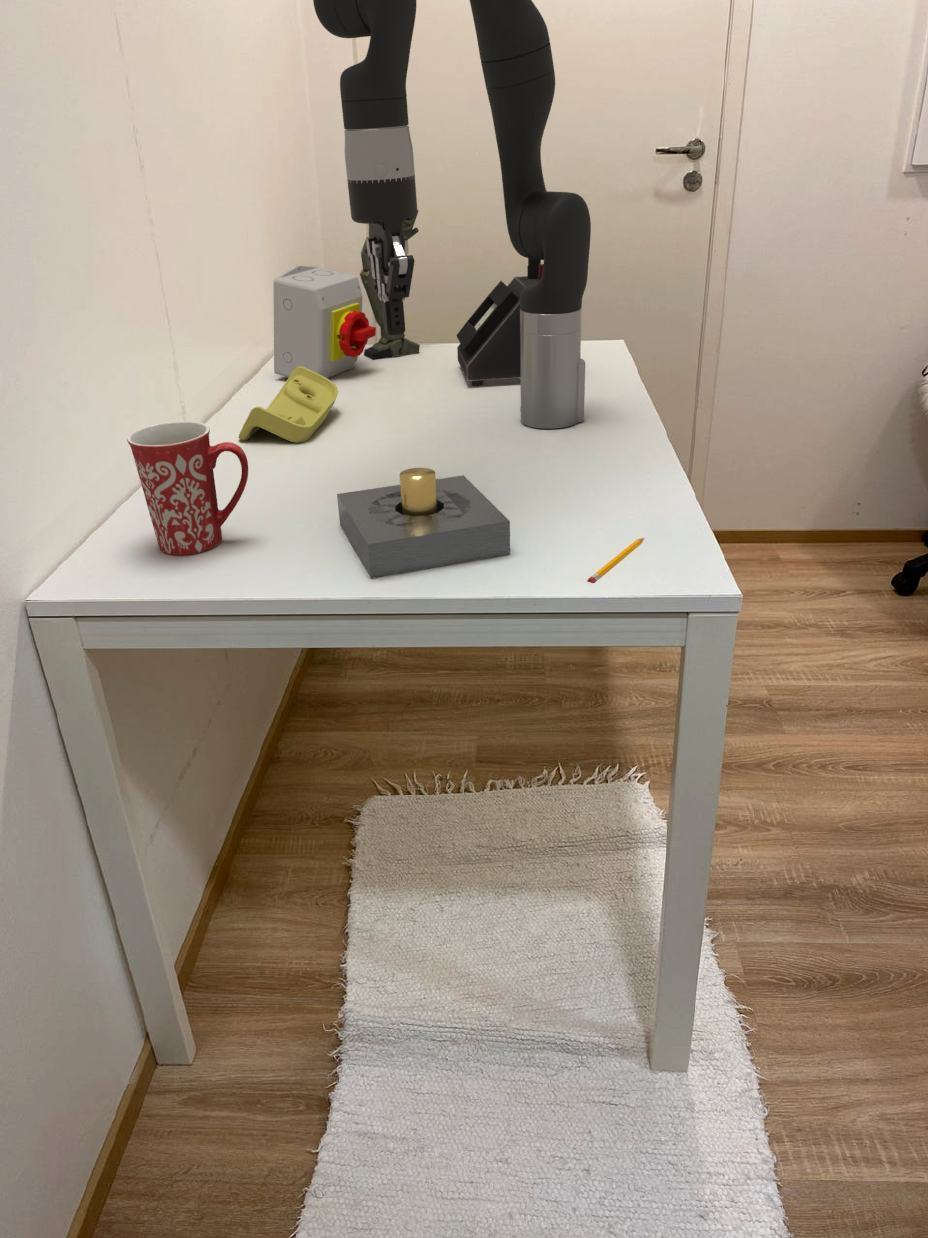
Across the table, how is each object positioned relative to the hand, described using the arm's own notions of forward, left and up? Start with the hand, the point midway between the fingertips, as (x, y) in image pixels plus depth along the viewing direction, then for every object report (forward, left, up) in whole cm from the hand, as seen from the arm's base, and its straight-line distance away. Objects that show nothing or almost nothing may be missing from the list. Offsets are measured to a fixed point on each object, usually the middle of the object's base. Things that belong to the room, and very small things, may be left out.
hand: (395, 332), depth 112 cm
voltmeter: (-34, -53, -21) cm, 67 cm away
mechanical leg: (-20, -80, -21) cm, 85 cm away
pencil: (-16, +28, -21) cm, 39 cm away
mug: (+26, +6, -21) cm, 34 cm away
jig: (+2, +15, -21) cm, 25 cm away
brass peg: (+2, +14, -21) cm, 25 cm away
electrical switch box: (-4, -68, -21) cm, 72 cm away
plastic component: (+8, -37, -21) cm, 44 cm away
